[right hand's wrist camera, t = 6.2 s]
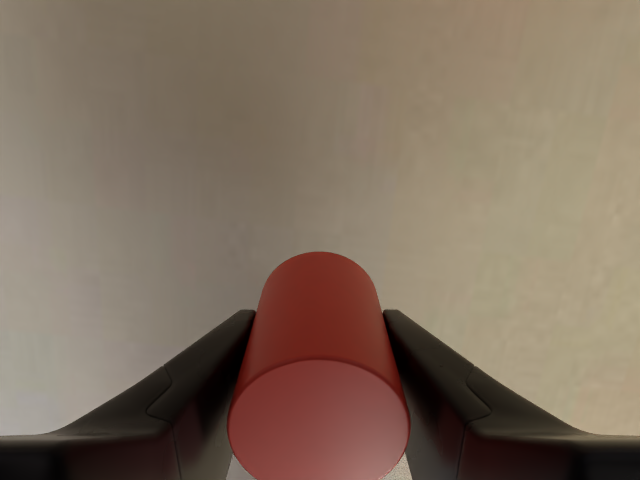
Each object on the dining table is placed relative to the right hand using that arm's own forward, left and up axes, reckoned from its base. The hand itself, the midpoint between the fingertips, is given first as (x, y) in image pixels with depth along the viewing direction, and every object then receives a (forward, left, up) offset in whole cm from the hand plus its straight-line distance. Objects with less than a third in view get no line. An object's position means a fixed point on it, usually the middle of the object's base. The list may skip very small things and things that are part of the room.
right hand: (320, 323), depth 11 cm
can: (0, 0, -1) cm, 1 cm away
